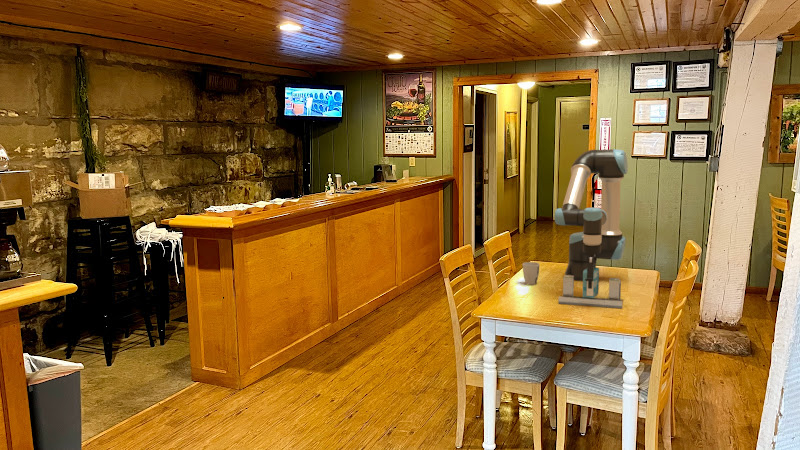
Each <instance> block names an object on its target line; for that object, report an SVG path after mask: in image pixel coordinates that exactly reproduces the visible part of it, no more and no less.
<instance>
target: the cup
mask: <svg viewBox="0 0 800 450" xmlns="http://www.w3.org/2000/svg"><path fill="white" fill-rule="evenodd" d="M522 274H523V278H524V279H523V280H524V282H525V284H526V285H527V284H528V285H529V286H535V285H536V284H537V283H538V280H539V275H540V263H539V262H534V261H528V262H527V261H526V262H523V263H522Z"/></svg>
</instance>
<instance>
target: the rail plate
mask: <svg viewBox="0 0 800 450" xmlns="http://www.w3.org/2000/svg"><path fill="white" fill-rule="evenodd" d="M562 280H563V281H562V295H560V296H558V304H559V305H568V306H569V305H570V306H583V307H584V306H586V307H595V308H596V307H598V308H614V309H623V299H620V300H619V281H620V278H618V277H609V280H608V298H601V297H595V298H583V296H574V292H575V291H574V290H575V287H574V283H575V280H574V276H571V275H565V274H564V276H562Z"/></svg>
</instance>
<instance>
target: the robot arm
mask: <svg viewBox="0 0 800 450" xmlns="http://www.w3.org/2000/svg"><path fill="white" fill-rule="evenodd" d="M628 166H629V165H628V157H627V154H626V152H625V150H623V149H590V150H587V151H584V152H583V153H581V154H580V155H579V156H577V158H576V159H575V160H574V161H573V163H572V165H571V168H570V180H569V182H568V186H567V189H566V193H565V197H564V200H563V202H562V203H563V204H562V206H561V207H560V208H556V209H555V211H554V215H553V218H554V223H555V224H556V225H559V226H570V227H571V226H573V227H574V226H575V227H578V226H579V227H583V231H579V232H574V233H572V234H570V235H569V242H568V245H569V246H568V264H567V267H566V270H565V273H564V275H571V276H574V281H577V282H578V281H579V282H580V281H581V282H583V271H584V270H585V269H586V268H587V279H585V281H587V296H593V286H594V281H593V280H594V279H593V275H594V267H596V268H597V266H596V265H597V259H598V260H610V261H612V260H613V261H616V260H617V261H619V260H621V259H622V258H623V255H624V252H625V249H626V243H627V242H626V237H625V236H623V232H622V231H621V230H620V212H621V210H620V207H621V181H622V180H623V179H624V178H625V175H627V174H628V172H629V171H628V170H629V169H628ZM593 174H595V175H596V174H597V175H598V179H599V180H600V181H601V196H600V197H601V203H600V205H601V206H600V207H601V208H600V207H586V208H584V209H580V207H581V203H582V200H583V196H584V194H585V193H584V192H585V188H586V185H587V181H588V179H589V178H590V177H591V175H593Z"/></svg>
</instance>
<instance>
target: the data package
mask: <svg viewBox="0 0 800 450" xmlns="http://www.w3.org/2000/svg"><path fill="white" fill-rule="evenodd" d="M585 279H587V268H586V269H585V270H584V271H583V281H582V297H583V298H596V297H597V296H598V294H599V288H600V287H599V284H600V283H599V282H600V280H599V279H600V268H599V267H597V266H596V267H594V275H593V279H594V280H593V281H594V286H593V296H587V281H585Z"/></svg>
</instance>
